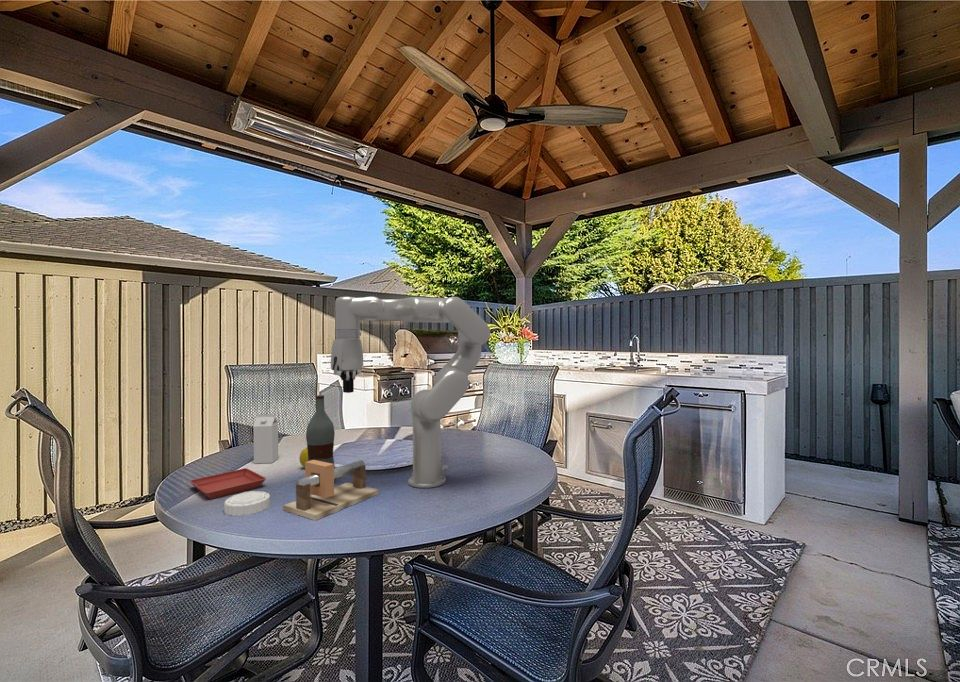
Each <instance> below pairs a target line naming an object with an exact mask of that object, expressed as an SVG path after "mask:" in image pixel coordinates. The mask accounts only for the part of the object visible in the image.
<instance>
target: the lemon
mask: <svg viewBox="0 0 960 682" xmlns="http://www.w3.org/2000/svg"><path fill="white" fill-rule="evenodd" d="M307 461H308V450H307V447H305V448H303V449H302V450H301V451H300V455H299V463H300V465H301V466H302V467H304V468H305V462H307Z"/></svg>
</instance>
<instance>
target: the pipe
mask: <svg viewBox="0 0 960 682" xmlns="http://www.w3.org/2000/svg"><path fill="white" fill-rule="evenodd" d="M365 464H366V463H365V461H364V460H363V459H359V460H356V461H353V462H349V463H347V464H344V465H340V466H337V467H335V468H334V480H335V479H338V478H341V477H344V476H347V475H350V474H353V472H356V471H359V470H360V467H361V466H364V465H365ZM365 466H366V465H365ZM296 483H297V484H299V485H303V486H304V485H307V484H310V487H312V486H315V485H318V484H320V474H315V475H311V476H308V477H305V476H304V477H302V478H299V479H297V481H296ZM303 486H302V489H303ZM299 488H301V487H299ZM299 488H298V489H299ZM302 489H301V490H302Z"/></svg>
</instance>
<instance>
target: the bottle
mask: <svg viewBox="0 0 960 682" xmlns="http://www.w3.org/2000/svg"><path fill="white" fill-rule="evenodd" d="M315 399H316V400H315V402H316V403H315V412H314V414H313V416H312V417H311V419H310V420H309V422H308V424H307V426H306V433H305V438H306V439H305V440H306V448H307V450H308V461H311V460H317V461H322V462H327V463H332V464H334V468H336V466H335V465H336V464H335V460H334V458H335V457H334V448H335V447H334V446H335V445H334V444H335V433H336V432H335V425H334V423H333V421H332V420H331V418H330V417H329V415H328V414H327V412H326V411H325V395H324V394H318V395H317V394H316V395H315Z"/></svg>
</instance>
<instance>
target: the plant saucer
mask: <svg viewBox="0 0 960 682" xmlns="http://www.w3.org/2000/svg"><path fill="white" fill-rule="evenodd" d="M266 480H267V478H266V477H265V476H262V475H261V474H259V473H256V472H255V471H253V470H251V469H249V468H246V467H245V468H240V469H237V470H232V471H226V472H222V473H217V474H213V475H208V476H203V477H200V478H198V477H197V478H195V479H191V480H189V483H190V484H191V485H192V486H194V488H195V489H197V490H198V491H200V492H201V494H203V495H204V496H206V497H207V498H209V499H211V500H212V499H216V498H221V497H225V496H229V495H233V494H238V493H242V492H247V491H249V490H252V489H257V488H260V486H261V485H262V484H263V483H265V481H266Z"/></svg>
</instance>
